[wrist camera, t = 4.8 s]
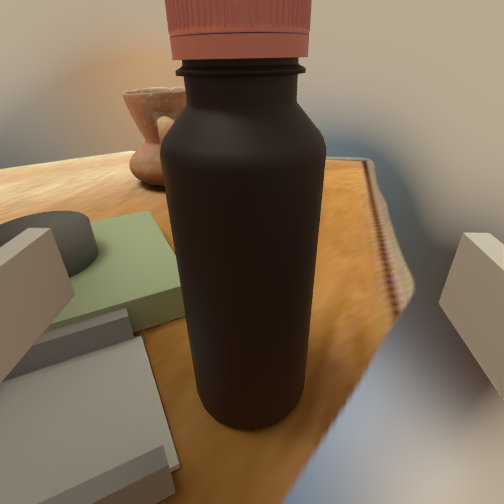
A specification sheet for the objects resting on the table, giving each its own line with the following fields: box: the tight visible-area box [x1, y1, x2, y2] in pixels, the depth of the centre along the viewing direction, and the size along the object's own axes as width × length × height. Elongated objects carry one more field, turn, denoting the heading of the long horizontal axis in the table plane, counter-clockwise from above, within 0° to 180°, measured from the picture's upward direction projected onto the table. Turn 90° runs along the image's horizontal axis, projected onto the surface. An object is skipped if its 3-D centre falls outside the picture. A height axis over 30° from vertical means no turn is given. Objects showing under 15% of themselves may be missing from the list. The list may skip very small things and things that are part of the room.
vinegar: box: [160, 0, 326, 429], centre depth 16 cm, size 7×7×20 cm
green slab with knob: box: [0, 210, 185, 504], centre depth 23 cm, size 20×28×6 cm
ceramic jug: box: [123, 86, 187, 186], centre depth 53 cm, size 18×14×14 cm
